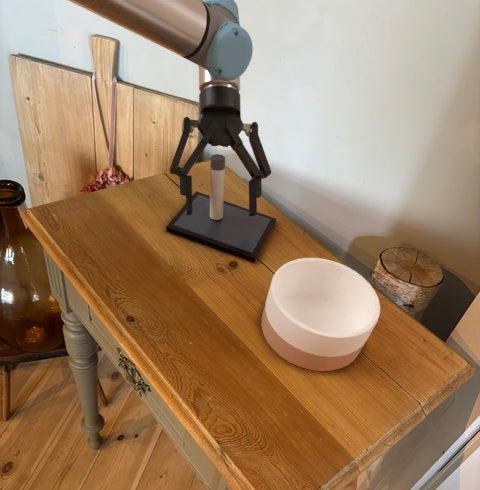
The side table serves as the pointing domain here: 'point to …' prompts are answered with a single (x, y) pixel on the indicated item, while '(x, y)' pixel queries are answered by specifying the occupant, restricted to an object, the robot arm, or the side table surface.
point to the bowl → (319, 313)
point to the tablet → (223, 228)
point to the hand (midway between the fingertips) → (221, 214)
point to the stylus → (217, 186)
